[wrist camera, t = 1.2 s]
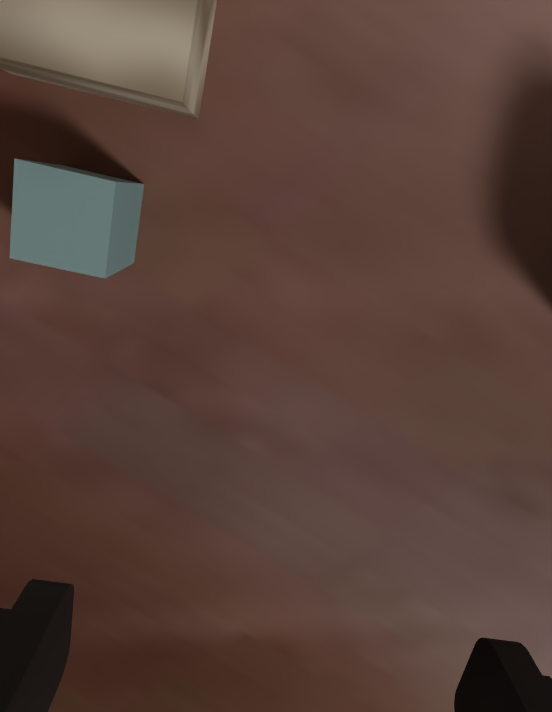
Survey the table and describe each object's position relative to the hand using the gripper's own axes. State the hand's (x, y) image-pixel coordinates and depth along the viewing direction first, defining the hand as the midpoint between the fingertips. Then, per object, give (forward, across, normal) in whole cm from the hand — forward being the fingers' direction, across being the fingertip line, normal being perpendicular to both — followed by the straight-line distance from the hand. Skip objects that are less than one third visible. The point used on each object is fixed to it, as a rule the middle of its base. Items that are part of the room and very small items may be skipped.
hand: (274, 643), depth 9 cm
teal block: (+25, +12, -5) cm, 28 cm away
